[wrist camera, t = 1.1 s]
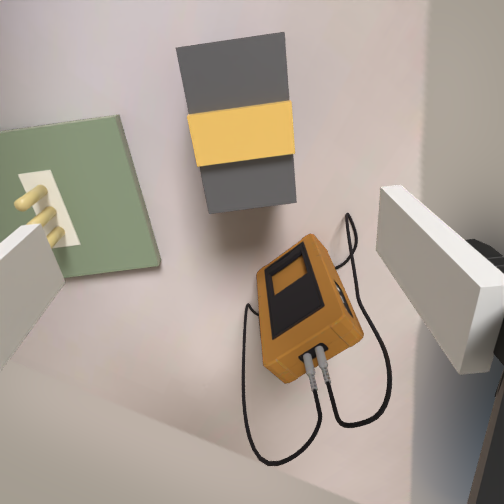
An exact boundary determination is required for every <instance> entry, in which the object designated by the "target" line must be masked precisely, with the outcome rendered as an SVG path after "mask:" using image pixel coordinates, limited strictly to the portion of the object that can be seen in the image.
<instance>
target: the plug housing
mask: <svg viewBox="0 0 504 504" xmlns="http://www.w3.org/2000/svg"><path fill="white" fill-rule="evenodd" d="M176 52H177V57H178V62H179V67H180V72H181V77H182V82H183V87H184V92H185V97H186V102H187V107H188V112H189V115H188V116H187V119H188V124H189V129H190V133H191V138H192V143H193V148H194V153H195V158H196V163H197V167H198V166H199V167H200V172H201V177H202V181H203V186H204V191H205V196H206V201H207V206H208V211H209V214H214V213H221V212H229V211H237V210H244V209H252V208H260V207H267V206H275V205H283V204H290V203H297V201H296V187H295V173H294V159H293V154H295V146H294V132H293V117H292V103H291V101H290V100H289V89H288V75H287V61H286V47H285V33H284V32H280V33H273V34H266V35H260V36H253V37H246V38H239V39H232V40H225V41H219V42H212V43H205V44H198V45H191V46H184V47H178V48H176Z"/></svg>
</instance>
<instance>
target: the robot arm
mask: <svg viewBox="0 0 504 504" xmlns="http://www.w3.org/2000/svg"><path fill="white" fill-rule="evenodd" d="M376 251H377V253H378V254H379V256H380V257H381V259H382V260H383V262H384V263H385V265H386V266H387V268H388V269H389V271H390V272H391V274H392V275H393V277H394V278H395V280H396V281H397V283H398V284H399V286H400V287H401V289H402V290H403V291H404V293H405V294H406V296H407V297H408V299H409V300H410V302H411V303H412V305H413V306H414V308H415V309H416V311H417V312H418V314H419V315H420V317H421V318H422V320H423V321H424V323H425V324H426V326H427V327H428V329H429V330H430V332H431V333H432V335H433V336H434V338H435V339H436V341H437V342H438V344H439V345H440V347H441V348H442V350H443V351H444V353H445V354H446V356H447V357H448V359H449V360H450V362H451V363H452V365H453V366H454V368H455V369H456V371H457V372H458V374H471V373H481V372H489V370H490V366H491V363H492V360H493V357H494V354H495V356H496V357H497V358H498V359H499V360H500V362H501V363H502V364H503V365H504V258H503V257H502V255H501V254H500V253H499V252H497V251H496V250H495V249H494V248H492V247H491V246H489V245H487V244H485V243H482V242H480V241H477V240H475V239H469V240H464V239H463V238H461V236H459V235H458V234H457V233H456V232H455V231H454V230H452V229H451V228H450V227H449V226H448V225H447V224H445V223H444V222H443V221H442V220H441V219H439V217H437V216H436V215H435V214H434V213H433V212H432V211H430V210H429V209H428V208H427V207H426V206H425V205H423V204H422V203H421V202H420V201H419V200H418V199H417V198H415V197H414V196H413V195H412V194H411V193H410V192H408V191H407V190H406V189H405V188H404V187H403V186H401V185H395V186H386V187H380V200H379V214H378V227H377V241H376ZM64 284H65V280H64V277H63V275H62V272H61V270H60V268H59V265H58V263H57V261H56V258H55V256H54V254H53V251H52V249H51V246H50V244H49V242H48V239H47V237H46V235H45V232H44V230H43V228H42V225H41V223H40V224H31V225H21V226H20V227H19V228H18V229H17V230H15V231H14V232H13V233H12V234H11V235H9V236H8V237H7V238H6V239H5V240H3V241H2V242H1V243H0V372H1V370H2V369H3V368H4V366H5V365H6V364H7V362H8V361H9V359H10V358H11V357H12V355H13V354H14V353H15V351H16V350H17V348H18V347H19V346H20V344H21V343H22V342H23V340H24V339H25V337H26V336H27V335H28V333H29V332H30V331H31V329H32V328H33V326H34V325H35V324H36V322H37V321H38V320H39V318H40V317H41V315H42V314H43V313H44V311H45V310H46V309H47V307H48V306H49V304H50V303H51V302H52V300H53V299H54V298H55V296H56V295H57V293H58V292H59V291H60V289H61V288H62V286H63V285H64ZM495 397H496V398H495V401H494V405H493V409H492V413H491V416H490V420H489V424H488V428H487V431H486V435H485V439H484V442H483V446H482V450H481V453H480V458H479V461H478V465H477V468H476V472H475V476H474V480H473V483H472V487H471V491H470V494H469V499H468V502H467V504H504V369H503V372H502V375H501V378H500V382H499V384H498V388H497V390H496V393H495Z"/></svg>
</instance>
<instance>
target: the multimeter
mask: <svg viewBox="0 0 504 504" xmlns="http://www.w3.org/2000/svg"><path fill="white" fill-rule="evenodd" d="M348 217H349V220H350V222H351V224H352V227H353V230H354V234H355V245H354V248H353V250H352V244H351V238H350V231H349V222H348ZM345 221H346V231H347V238H348V245H349V251H350V255H349V257H348V258H347V259H346V261H344V262H343V263H342V264H340V265H338V266H336V267H334V265H333V263H332V261H331V258H330V256H329V254H328V251H327V249H326V248H325V247H324V246H323V245H322V244H321V242H320V241H319V240H318V239H317V238H316V237H315V236H314V234H309V235H307V236H305V237H304V238H302V240H301V241H299V242H298V243H297V244H295V245H294V246H292V247H291V248H290V249H288V250H287V251H286V252H284V253H283V254H282V255H280V256H279V257H277V258H276V259H275V260H273V261H272V262H271V263H269V264H268V265H267V266H264V267H263V268H262V269H260V270H259V271H258V272H257V288H258V304H259V314H258V313H256V312H255V311H254V310H253V309H252V307H251V305H250V304H249V303H248V304H247V305H246V308H245V315H244V329H243V351H242V404H243V415H244V422H245V428H246V432H247V437H248V440H249V442H250V445H251V448H252V450H253V452H254V453H255V455H256V456H257V458H258V459H259V461H261V462H262V463H264V464H266V465H267V466H279V465H282V464H285V463H287V462H289V461H291V460H293V459H294V458H296V457H297V456H299V455H300V454H301V453H302V452H304V451H305V450H306V449H307V448H308V446H309V445H310V444H311V443H312V441H313V440H314V438H315V437H316V435H317V433H318V431H319V428H320V425H321V422H322V412H321V407H320V403H319V398H318V394H317V390H318V389H317V385H316V381H315V376H314V375H315V369H314V368H315V367H317V366H318V365H319V367H320V368H321V369H322V373H323V377H324V380H325V384H326V385H327V389H328V393H329V397H330V400H331V404H332V408H333V412H334V416H335V419H336V421H337V422H338V423H339V425H340V426H342V427H345V428H355V427H360V426H363V425H367V424H370V423H371V422H373V421H375V420H377V419H378V418H379V417H380V416H381V415H382V414H383V413H384V411H385V409H386V407H387V405H388V402H389V399H390V396H391V390H392V371H391V365H390V359H389V356H388V353H387V350H386V347H385V345H384V343H383V341H382V339H381V337H380V335H379V333H378V331H377V330H376V328H375V326H374V324H373V323H372V321H371V319H370V317H369V316H368V314H367V312H366V310H365V309H364V307H363V305H362V302H361V300H360V295H359V288H358V281H357V275H356V269H355V263H354V257H353V254H354V252H355V250H356V248H357V244H358V237H357V231H356V228H355V225H354V223H353V220H352V218H351V216H350V215H349V213H347V214H346V215H345ZM350 258H351V264H352V270H353V277H354V283H355V291H356V298H357V302H358V304H359V306H360V308H361V310H362V312H363V314H364V316H365V318H366V319H367V321H368V323H369V325H370V327H371V328H372V330H373V332H374V334H375V336H376V338H377V340H378V342H379V344H380V346H381V349H382V351H383V354H384V358H385V362H386V368H387V390H386V395H385V398H384V401H383V404H382V406H381V407H380V409H379V411H378V412H377V413H376V414H375V415H374V416H372V417H370V418H368V419H365V420H362V421H359V422H354V423H345V422H343V421H341V419H340V417H339V414H338V411H337V407H336V403H335V399H334V396H333V392H332V388H331V385H330V383H331V381H330V377H329V373H328V370H327V367H328V364H327V360H329V359H330V358H332V357H334V356H335V355H337V354H339V353H340V352H342V351H344V350H345V349H347V348H349V347H352V346H353V345H355V344H356V343H358V342H359V341H360V340H361V339H362V338H363V336H364V333H363V330H362V328H361V326H360V324H359V321H358V319H357V317H356V314H355V312H354V310H353V307H352V305H351V303H350V301H349V298H348V296H347V294H346V291H345V289H344V287H343V284H342V282H341V280H340V278H339V276H338V273H337V271H336V269H338V268H340V267H342V266H343V265H345V264H346V263H347V262H348V261H349V260H350ZM248 306H249V308H250V310H251V311H252V312H253V313H254V314H255V315H257V316H259V325H260V336H261V344H262V357H263V366H264V367H266V368H267V369H268V370H269V371H270V372H272V373H273V374H274V375H275V376H276V377H278V378H279V379H280V380H281V381H282V382H284V383H285V384H286V383H290V382H292V381H294V380H296V379H298V377H300V376H302V375H303V374H305V373H306V374H307V375H308V376H309V380H310V384H311V389H312V392H313V394H314V398H315V403H316V408H317V412H318V421H317V425H316V427H315V430H314V432H313V434H312V435H311V437H310V438H309V440H308V441H307V442H306V443H305V444H304V446H303V447H302V448H301V449H299V450H298V451H297V452H296V453H294V454H293V455H291V456H289V457H287V458H285V459H282V460H280V461H268V460H266V459H265V458H263V457H261V455H260V454H259V453H258V451H257V450H256V448H255V445H254V443H253V440H252V438H251V434H250V430H249V425H248V419H247V412H246V401H245V343H246V322H247V311H248Z"/></svg>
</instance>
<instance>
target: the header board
mask: <svg viewBox="0 0 504 504" xmlns="http://www.w3.org/2000/svg"><path fill="white" fill-rule="evenodd" d="M40 223H41V225H42V228H43V230H44V232H45V235H46V237H47V239H48V242H49V244H50V246H51V249H52V251H53V254H54V256H55V258H56V261H57V263H58V265H59V268H60V270H61V272H62V275H63V277H64V278H67V277H75V276H83V275H91V274H99V273H107V272H115V271H123V270H131V269H139V268H146V267H154V266H159V264H160V261H161V258H160V254H159V251H158V247H157V244H156V240H155V237H154V233H153V230H152V227H151V223H150V220H149V216H148V213H147V209H146V206H145V202H144V199H143V195H142V192H141V189H140V185H139V182H138V178H137V175H136V171H135V168H134V164H133V161H132V158H131V154H130V151H129V147H128V144H127V140H126V137H125V133H124V130H123V126H122V123H121V120H120V116H119V115H112V116H105V117H98V118H90V119H83V120H76V121H69V122H62V123H55V124H48V125H41V126H34V127H27V128H19V129H12V130H5V131H0V243H1V242H2V241H3V240H5V239H6V238H7V237H8V236H9V235H11V234H12V233H13V232H14V231H15V230H17V229H18V228H19V227H20V226H21V225H31V224H40Z"/></svg>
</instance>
